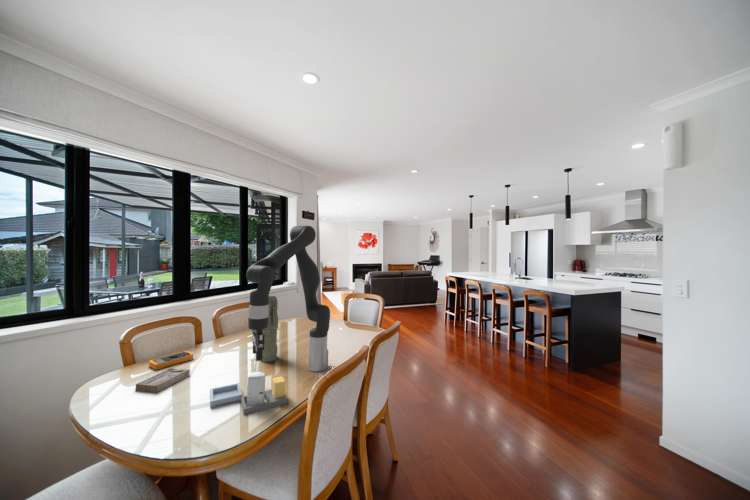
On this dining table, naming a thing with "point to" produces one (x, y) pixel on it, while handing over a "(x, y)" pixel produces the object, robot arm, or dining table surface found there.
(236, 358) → the dining table surface
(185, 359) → the multimeter
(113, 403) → the dining table surface
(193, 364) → the dining table surface
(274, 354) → the thermos
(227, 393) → the tray
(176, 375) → the box
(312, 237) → the robot arm
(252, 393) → the skincare box
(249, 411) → the block
